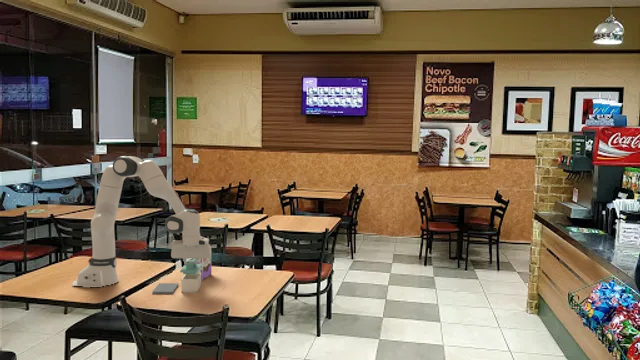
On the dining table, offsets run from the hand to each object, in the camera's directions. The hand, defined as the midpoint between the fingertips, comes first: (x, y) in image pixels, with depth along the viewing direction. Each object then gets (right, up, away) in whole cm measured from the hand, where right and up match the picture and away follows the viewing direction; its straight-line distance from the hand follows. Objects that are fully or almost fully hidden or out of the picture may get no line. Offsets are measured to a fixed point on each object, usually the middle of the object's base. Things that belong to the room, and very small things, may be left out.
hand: (191, 266), depth 250 cm
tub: (0, -12, +1) cm, 12 cm away
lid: (0, -3, 0) cm, 3 cm away
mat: (-13, -12, -1) cm, 18 cm away
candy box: (0, -10, +22) cm, 25 cm away
